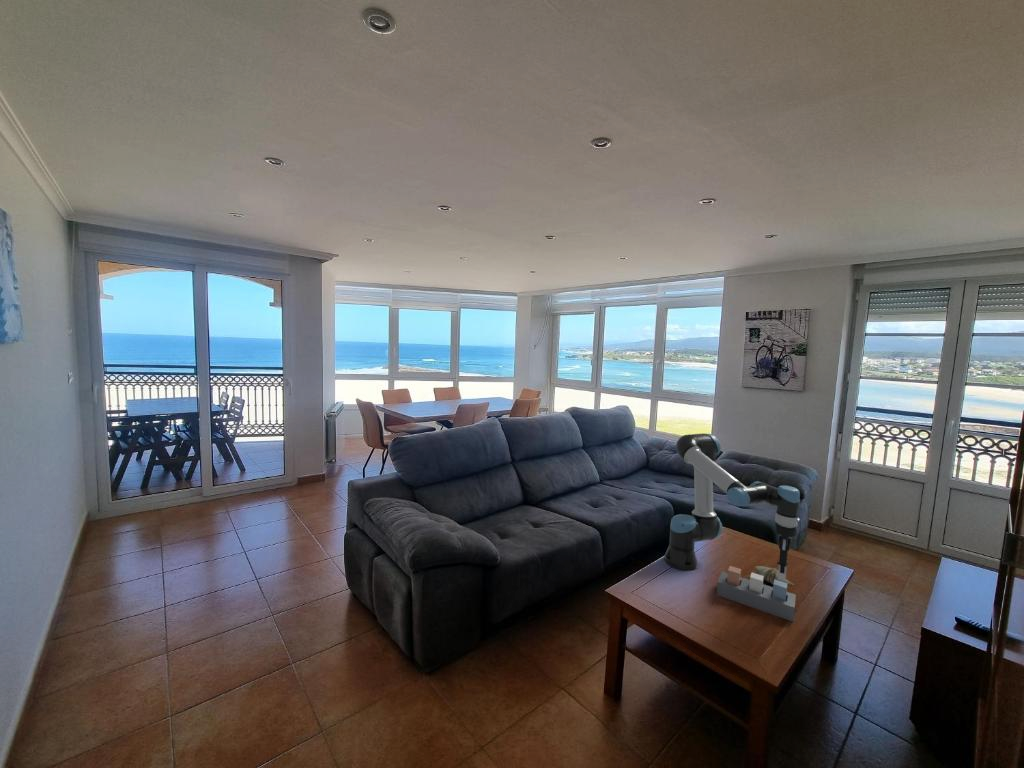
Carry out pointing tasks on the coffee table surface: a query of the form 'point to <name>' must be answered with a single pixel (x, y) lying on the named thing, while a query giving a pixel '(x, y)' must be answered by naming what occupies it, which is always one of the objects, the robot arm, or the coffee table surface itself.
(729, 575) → the salmon brown block
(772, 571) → the seashell
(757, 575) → the white key
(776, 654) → the coffee table surface
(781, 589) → the blue key
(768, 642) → the coffee table surface
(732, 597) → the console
